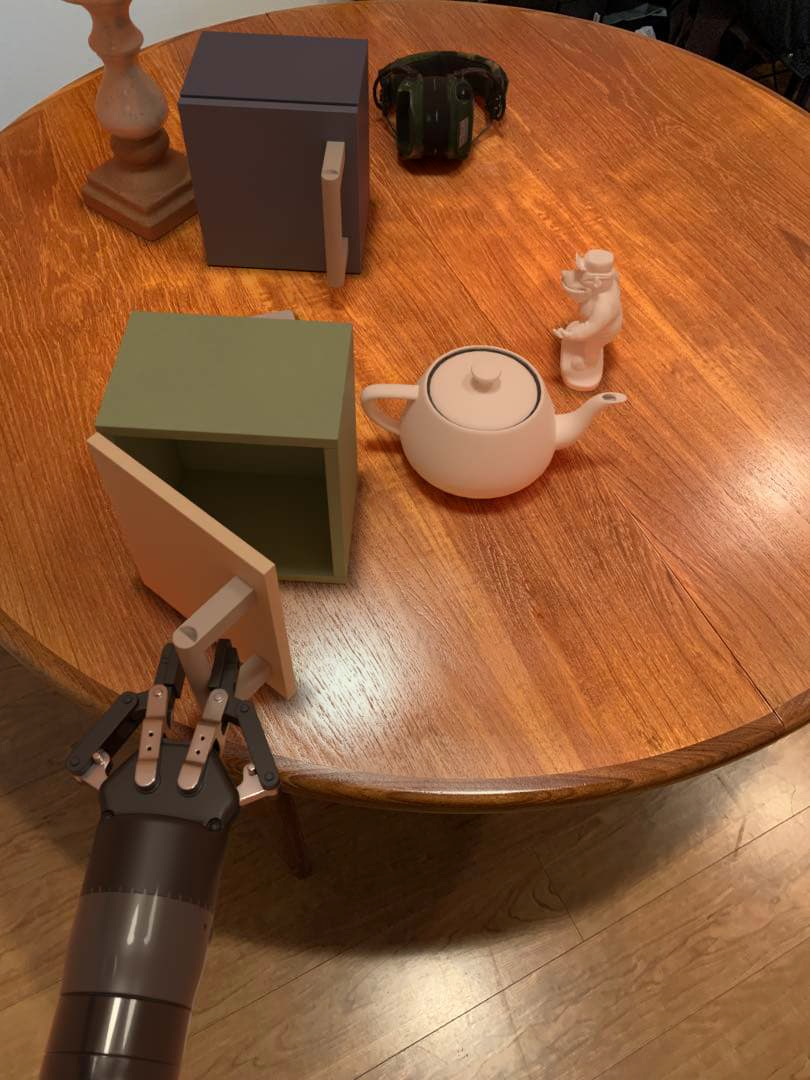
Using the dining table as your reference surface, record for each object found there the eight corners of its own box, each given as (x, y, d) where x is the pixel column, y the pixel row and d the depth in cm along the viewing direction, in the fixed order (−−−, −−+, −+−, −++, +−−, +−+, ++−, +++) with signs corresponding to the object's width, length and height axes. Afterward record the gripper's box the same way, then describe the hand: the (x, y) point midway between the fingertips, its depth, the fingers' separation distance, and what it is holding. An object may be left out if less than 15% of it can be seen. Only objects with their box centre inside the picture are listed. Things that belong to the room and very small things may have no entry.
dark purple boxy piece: (361, 266, 97) (358, 103, 82) (210, 258, 97) (179, 93, 82) (369, 201, 103) (368, 39, 88) (227, 194, 103) (201, 30, 89)
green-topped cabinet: (346, 584, 75) (337, 439, 60) (150, 572, 75) (93, 425, 60) (357, 477, 81) (353, 322, 66) (176, 467, 81) (131, 310, 67)
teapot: (353, 506, 79) (349, 422, 71) (369, 389, 87) (367, 300, 78) (610, 525, 79) (639, 443, 70) (602, 406, 87) (628, 318, 78)
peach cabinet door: (232, 758, 66) (190, 642, 52) (86, 632, 72) (11, 494, 57) (297, 691, 69) (275, 563, 55) (152, 575, 75) (97, 431, 60)
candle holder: (152, 243, 98) (94, 10, 79) (81, 203, 102) (9, -29, 82) (223, 193, 103) (186, -37, 84) (154, 157, 107) (103, -72, 87)
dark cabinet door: (355, 311, 93) (351, 151, 78) (197, 302, 93) (163, 141, 78) (361, 267, 97) (358, 106, 82) (209, 258, 97) (178, 96, 82)
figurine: (545, 321, 93) (565, 219, 83) (610, 328, 93) (638, 227, 83) (541, 387, 88) (562, 287, 78) (610, 394, 87) (640, 295, 78)
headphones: (531, 133, 101) (512, 65, 115) (449, 40, 94) (439, -22, 108) (441, 215, 108) (433, 140, 122) (358, 133, 101) (360, 64, 114)
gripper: (261, 908, 49) (304, 621, 58) (0, 888, 49) (86, 606, 59) (275, 938, 55) (312, 674, 65) (43, 920, 55) (115, 660, 65)
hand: (204, 643), depth 62 cm, fingers closed
